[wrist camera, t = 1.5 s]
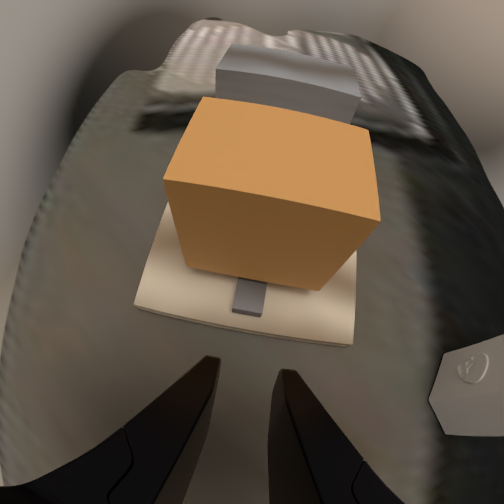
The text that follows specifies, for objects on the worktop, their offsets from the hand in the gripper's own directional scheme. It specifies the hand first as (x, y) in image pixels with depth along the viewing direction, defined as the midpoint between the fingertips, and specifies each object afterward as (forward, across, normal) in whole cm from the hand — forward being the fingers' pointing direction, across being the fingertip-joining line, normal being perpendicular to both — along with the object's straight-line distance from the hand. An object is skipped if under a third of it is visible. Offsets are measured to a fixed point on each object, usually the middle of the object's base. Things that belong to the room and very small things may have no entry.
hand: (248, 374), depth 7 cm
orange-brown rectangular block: (+14, 0, 0) cm, 14 cm away
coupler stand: (+20, 0, -2) cm, 20 cm away
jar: (+9, -21, +9) cm, 25 cm away
